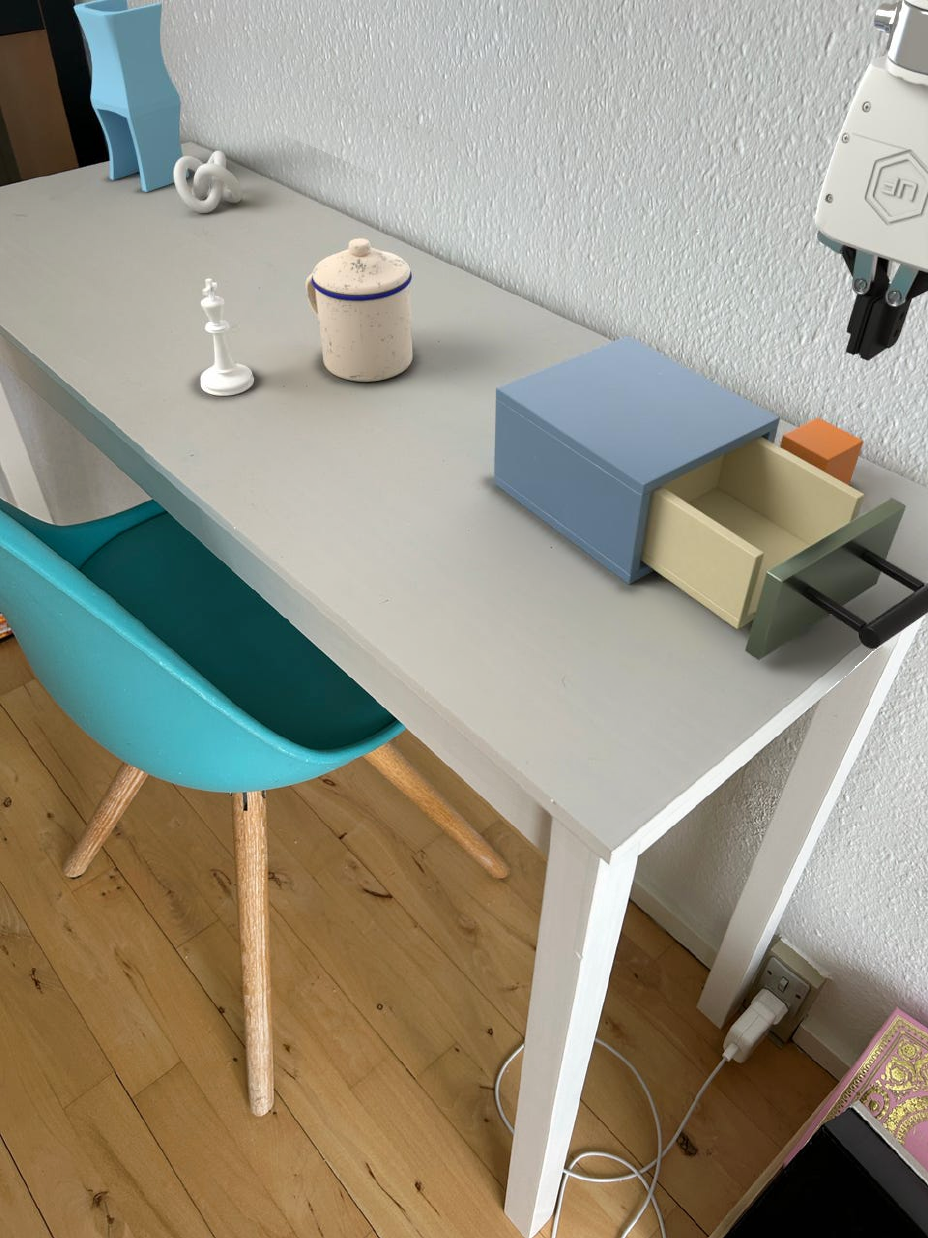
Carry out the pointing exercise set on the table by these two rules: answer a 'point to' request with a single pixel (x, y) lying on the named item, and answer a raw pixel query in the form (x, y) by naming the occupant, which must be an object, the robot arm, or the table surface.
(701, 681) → the table surface
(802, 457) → the matte orange cube
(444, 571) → the table surface
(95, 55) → the vase
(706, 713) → the table surface
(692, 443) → the drawer cabinet
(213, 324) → the chess piece
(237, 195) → the knot
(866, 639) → the drawer
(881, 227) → the robot arm
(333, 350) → the teacup with lid
